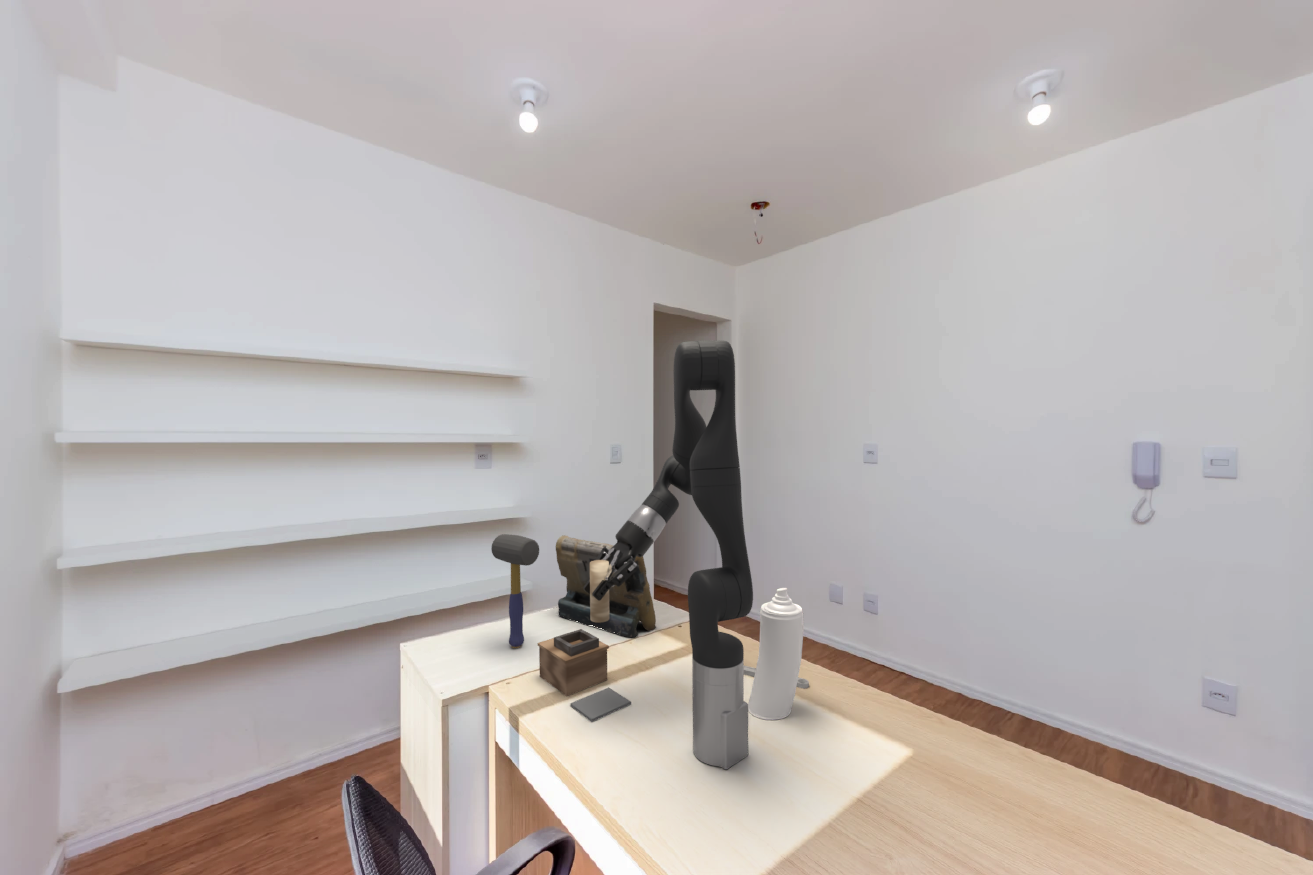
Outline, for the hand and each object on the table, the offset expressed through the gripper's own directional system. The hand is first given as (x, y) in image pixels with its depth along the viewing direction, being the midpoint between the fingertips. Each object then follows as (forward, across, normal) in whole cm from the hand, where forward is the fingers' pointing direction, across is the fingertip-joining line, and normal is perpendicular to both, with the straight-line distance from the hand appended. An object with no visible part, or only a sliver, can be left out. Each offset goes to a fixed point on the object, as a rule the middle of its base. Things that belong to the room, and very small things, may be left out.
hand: (591, 594), depth 109 cm
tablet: (+1, -42, +34) cm, 54 cm away
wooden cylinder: (+3, 0, +5) cm, 6 cm away
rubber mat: (+16, 0, +18) cm, 24 cm away
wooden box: (+16, -14, +18) cm, 28 cm away
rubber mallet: (+21, -38, +14) cm, 46 cm away
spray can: (-6, +20, +40) cm, 45 cm away
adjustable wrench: (-9, +7, +44) cm, 46 cm away
